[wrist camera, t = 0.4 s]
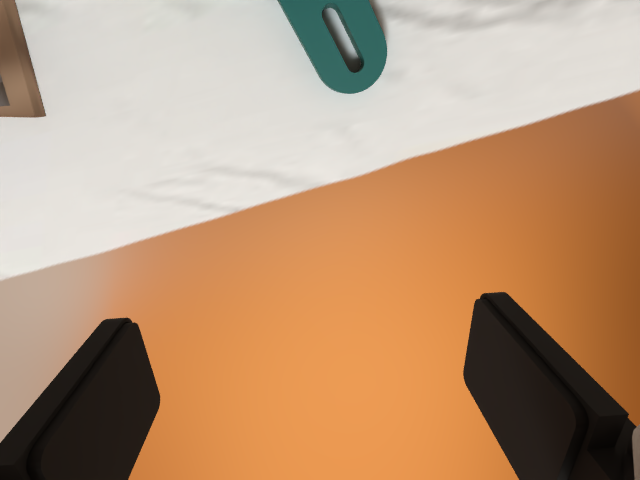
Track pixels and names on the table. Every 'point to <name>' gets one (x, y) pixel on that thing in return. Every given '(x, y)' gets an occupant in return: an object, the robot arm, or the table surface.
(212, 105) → the table surface
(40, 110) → the gauge base
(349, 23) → the bracket
